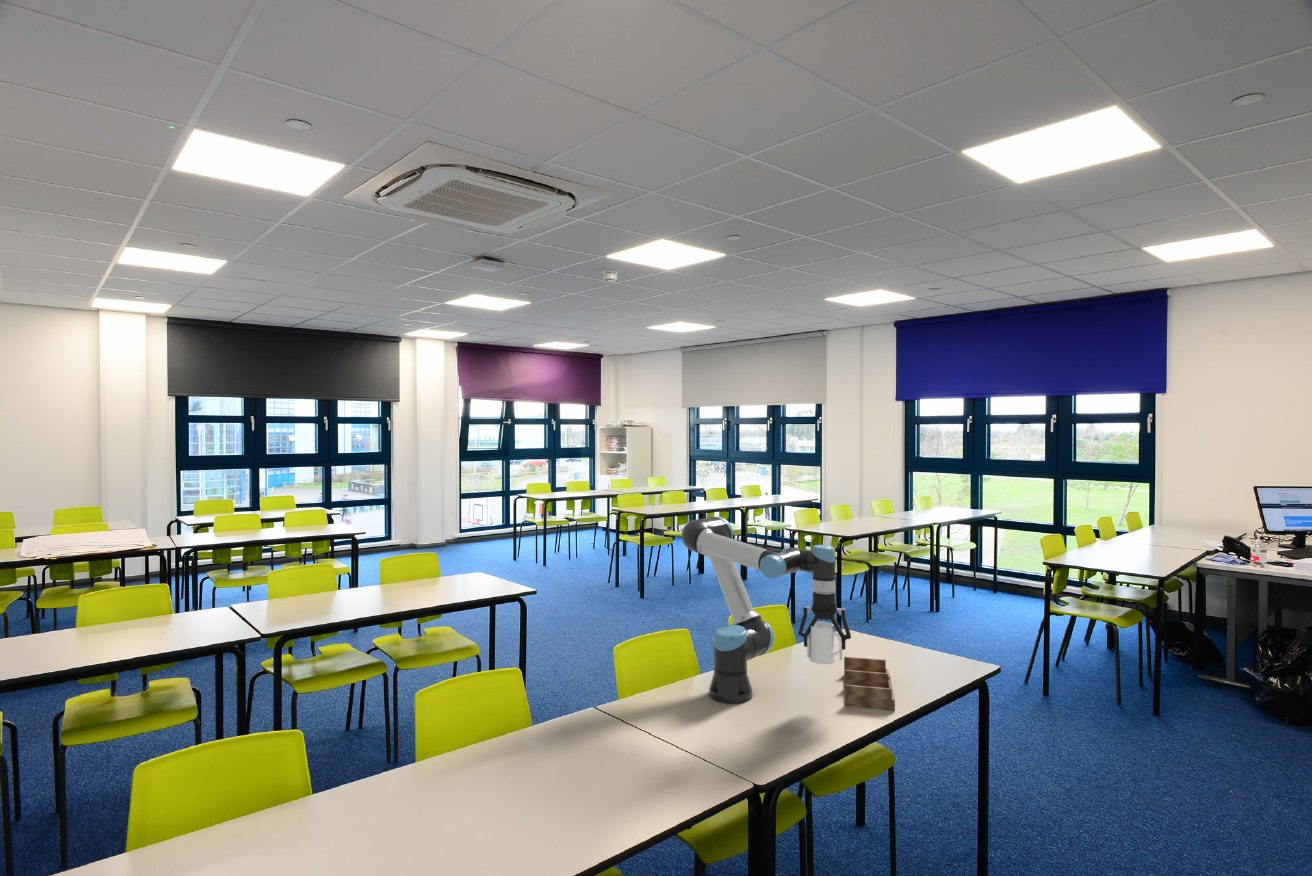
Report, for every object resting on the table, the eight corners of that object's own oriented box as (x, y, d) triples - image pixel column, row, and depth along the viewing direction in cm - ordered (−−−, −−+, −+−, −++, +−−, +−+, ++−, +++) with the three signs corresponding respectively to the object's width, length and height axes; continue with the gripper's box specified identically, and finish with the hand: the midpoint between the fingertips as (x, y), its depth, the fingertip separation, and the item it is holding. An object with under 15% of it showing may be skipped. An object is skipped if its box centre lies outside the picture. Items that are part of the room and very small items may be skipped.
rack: (845, 705, 226) (844, 685, 226) (844, 674, 255) (844, 656, 254) (895, 710, 221) (894, 689, 221) (888, 678, 250) (888, 659, 250)
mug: (848, 663, 223) (847, 627, 223) (831, 668, 218) (831, 632, 217) (820, 654, 232) (819, 619, 232) (804, 659, 227) (803, 624, 227)
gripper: (789, 592, 224) (789, 658, 225) (858, 596, 218) (859, 664, 218) (791, 587, 232) (791, 651, 232) (858, 590, 225) (859, 656, 225)
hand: (824, 657), depth 225 cm, fingers closed on mug, 10 cm apart
